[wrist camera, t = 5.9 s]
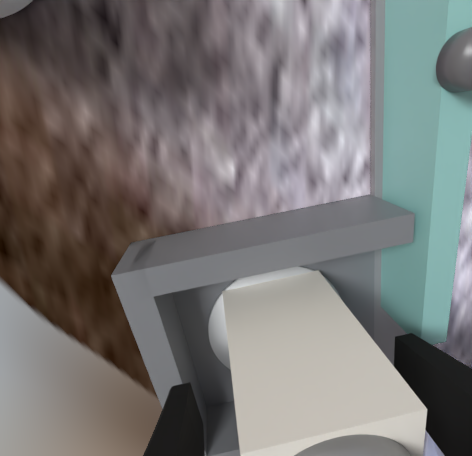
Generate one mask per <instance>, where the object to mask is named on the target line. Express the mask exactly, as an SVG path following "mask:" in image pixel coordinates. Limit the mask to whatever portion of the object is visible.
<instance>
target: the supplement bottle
mask: <svg viewBox="0 0 472 456" xmlns="http://www.w3.org/2000/svg"><path fill="white" fill-rule="evenodd" d="M32 1H33V0H0V18H3V17H6V16H9V15H12V14H14V13H16V12H18V11H20V10H21V9H23V8H24V7H26V6H27V5H28V4H30V3H31V2H32Z"/></svg>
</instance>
